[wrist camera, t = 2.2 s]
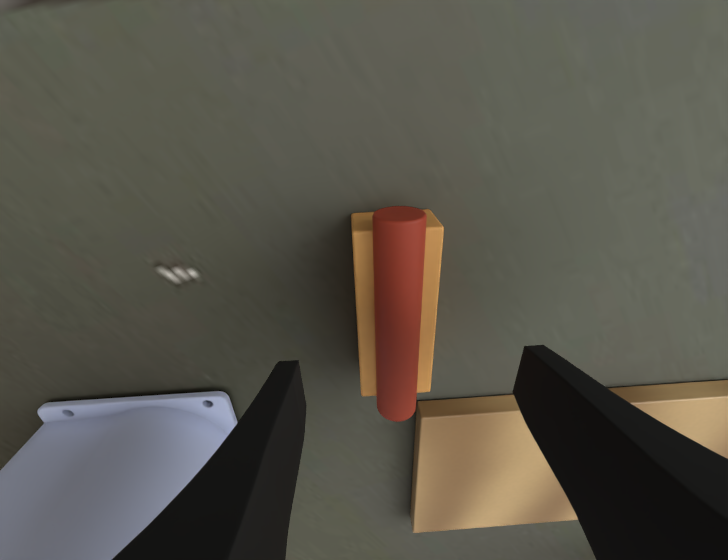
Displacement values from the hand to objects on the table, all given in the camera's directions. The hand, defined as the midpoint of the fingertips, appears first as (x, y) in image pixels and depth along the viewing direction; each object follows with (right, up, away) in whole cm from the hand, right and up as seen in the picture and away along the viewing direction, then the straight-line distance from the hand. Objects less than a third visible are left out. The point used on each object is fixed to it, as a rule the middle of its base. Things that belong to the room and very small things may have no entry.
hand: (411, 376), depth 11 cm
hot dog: (0, +2, +4) cm, 5 cm away
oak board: (+12, -8, +11) cm, 18 cm away
